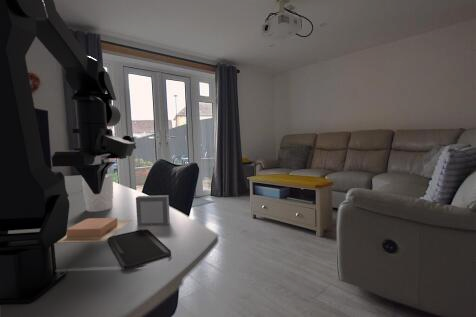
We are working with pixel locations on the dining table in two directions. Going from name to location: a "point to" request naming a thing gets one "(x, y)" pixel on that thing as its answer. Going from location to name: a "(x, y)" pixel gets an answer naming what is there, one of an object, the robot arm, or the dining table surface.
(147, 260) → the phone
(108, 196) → the white cup
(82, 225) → the terracotta tile
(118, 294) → the dining table surface
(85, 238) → the cork mat
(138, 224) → the gray box
